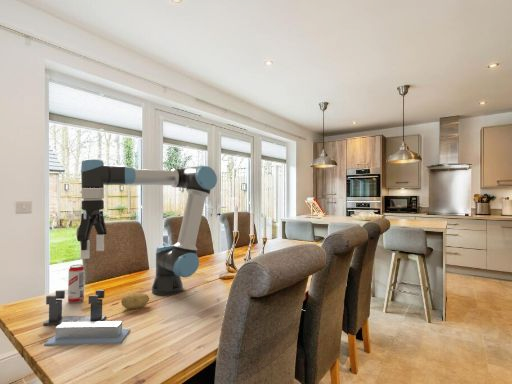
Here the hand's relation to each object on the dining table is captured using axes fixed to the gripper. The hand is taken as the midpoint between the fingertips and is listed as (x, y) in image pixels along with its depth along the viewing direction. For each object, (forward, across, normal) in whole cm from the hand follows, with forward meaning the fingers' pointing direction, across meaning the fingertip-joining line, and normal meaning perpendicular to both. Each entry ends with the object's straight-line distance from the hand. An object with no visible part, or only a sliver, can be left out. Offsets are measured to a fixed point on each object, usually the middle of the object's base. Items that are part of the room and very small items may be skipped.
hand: (93, 254), depth 113 cm
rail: (+25, +14, +4) cm, 29 cm away
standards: (+26, 0, -6) cm, 26 cm away
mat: (+26, +14, +4) cm, 29 cm away
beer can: (+26, -22, -16) cm, 38 cm away
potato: (+26, -12, +12) cm, 31 cm away
